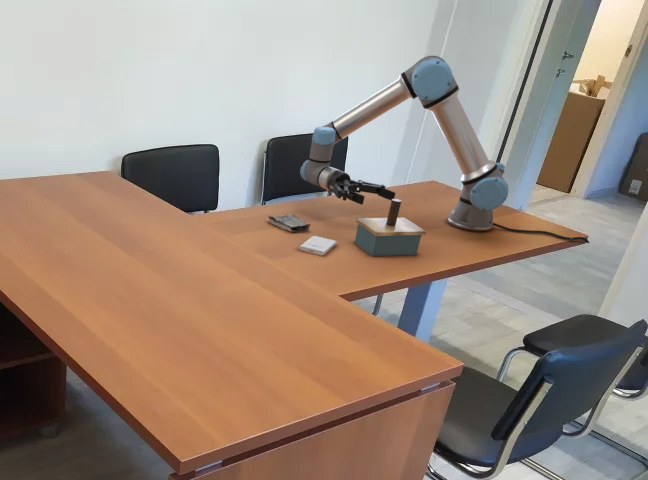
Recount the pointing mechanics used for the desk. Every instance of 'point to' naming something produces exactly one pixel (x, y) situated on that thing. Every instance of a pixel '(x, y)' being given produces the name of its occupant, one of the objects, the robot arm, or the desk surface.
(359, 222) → the tan piece
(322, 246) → the hard drive
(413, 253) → the toy box
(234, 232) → the desk surface
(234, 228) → the desk surface
